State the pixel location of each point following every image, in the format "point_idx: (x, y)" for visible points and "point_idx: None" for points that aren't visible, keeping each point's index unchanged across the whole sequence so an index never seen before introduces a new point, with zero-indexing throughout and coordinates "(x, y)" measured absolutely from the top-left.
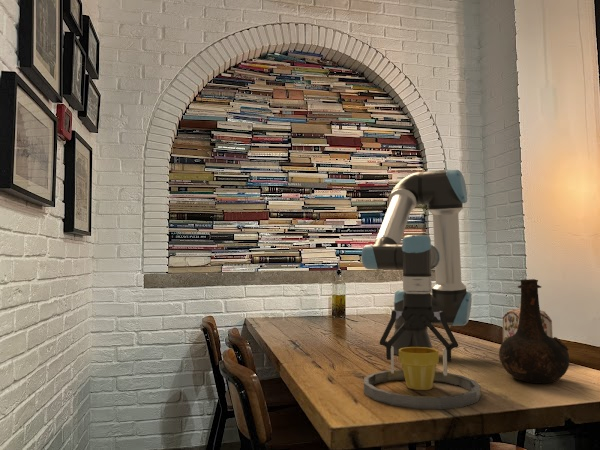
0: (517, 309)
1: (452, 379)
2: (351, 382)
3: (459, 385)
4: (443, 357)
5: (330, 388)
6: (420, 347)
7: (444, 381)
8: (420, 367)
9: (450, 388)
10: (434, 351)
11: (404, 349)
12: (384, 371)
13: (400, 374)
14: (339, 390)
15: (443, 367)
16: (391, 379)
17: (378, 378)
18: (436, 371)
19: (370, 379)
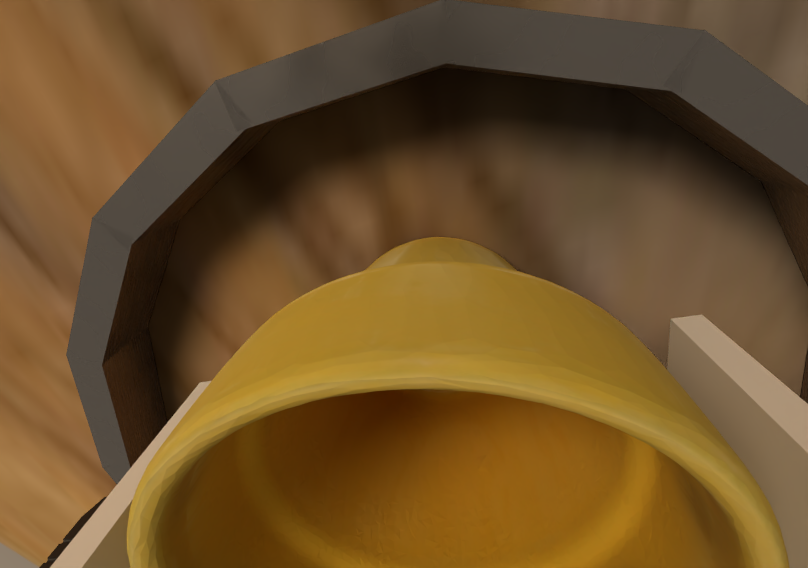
0: None
1: (743, 157)
2: (9, 339)
3: (768, 192)
4: (793, 518)
5: (17, 467)
6: (429, 384)
7: (649, 101)
8: (471, 559)
9: (666, 281)
10: (715, 508)
11: (177, 498)
12: (103, 250)
13: (230, 156)
14: (75, 484)
15: (705, 394)
16: (192, 202)
17: (134, 319)
18: (606, 35)
19: (133, 428)
